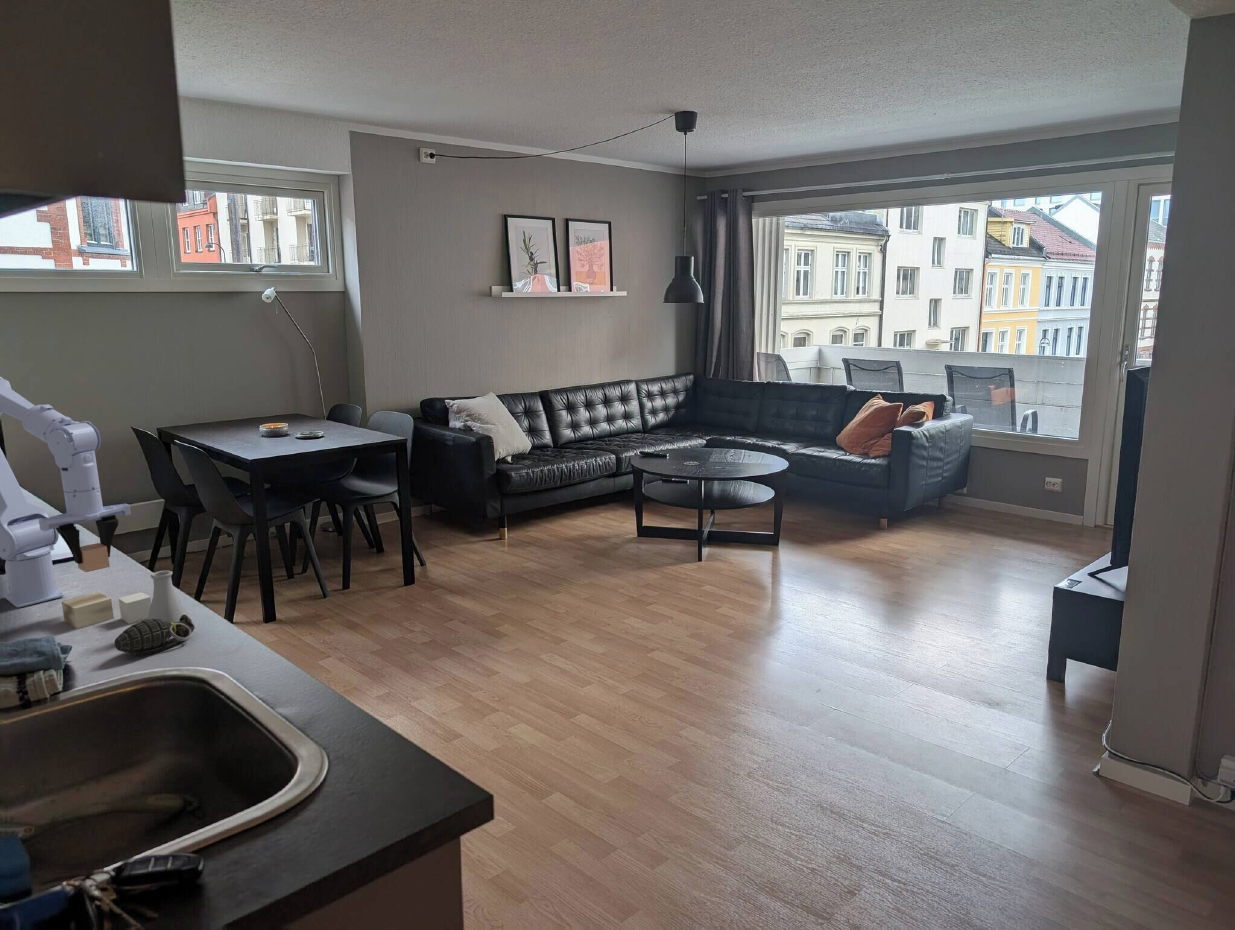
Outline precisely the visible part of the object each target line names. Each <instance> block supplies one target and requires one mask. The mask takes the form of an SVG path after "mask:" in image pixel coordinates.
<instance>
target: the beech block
mask: <svg viewBox="0 0 1235 930" xmlns="http://www.w3.org/2000/svg"><path fill="white" fill-rule="evenodd" d="M61 607H62V612H63V620H64V622H65V623H68V624H69V625H70V626H72V627H74V628H75V629H81V628H85V627H88V626H89V627H90V626H93V625H95V624H100V623H102V622H103V623H104V622H106V621H110V620H114V619H115V615H114V612H113V611H114V610H113V609H114V608H113V602H112V598H111V597H108V596H107V595H104V594H102V593H100V592H99V591H96V592H92V593H88V594H85V595H81V596H76V597H73V598H69V599H66V600H62V601H61Z"/></svg>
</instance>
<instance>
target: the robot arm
mask: <svg viewBox="0 0 1235 930" xmlns="http://www.w3.org/2000/svg"><path fill="white" fill-rule="evenodd" d="M3 413H4V414H6V415H8V416H10V417H13V418H15V419H16V420H19V421H21V422H22V423H21V425H22V428H23V429H24V431H26V432H27V433H29V434H30V435H32V436H34V437H36V438H37V439H39V440H41V441H42V442H44V443H46V444H47V446H48V449H49V451H50V452H51V454H52V455H53V457H54V461H55V465H56V466H57V468H59V469H60V470H59V471H60V477H61V483H62V490H63V497H64V500H65V501H64V503H65V508H66V512H64V513H60V514H57V515H52V516H49V515H48V513H47V512H46V510H45V508H44V507H42V506H39V505H37V504H34V503H32V502H29V501H28V500H27V497H26V496H25V494H24V491H23V490H22V488H21V486H20V483H18V482H19V481H18V480H17V478H16V477H15V476H16V475H15V473H14V472H13V470H12V469H11V466H10V464H9V462H8V460H7V458H6V455H5V454H4V452H3V450H2V449H1V447H0V558H1V560H5V564H4V570H5V576H6V580H7V587H8V593H5V594H3V597H4V599H6V600H7V601H8V602H9V603H11V604H12V605H13V606H15V608H22V607H26V606H29V605H30V606H31V605H35V604H38V603H42V602H47V601H51V600H54V599H60V598H64V597H65V593H64V592H62V591H61V590H59V589H57V585H56V578H55V571H54V570H55V569H54V566H53V559H52V551H54V550H55V548H54V545H56V544H57V543H58V541H59V537H60V536H61V538H62V539H63V541H64V542H65V544H66V545H67V547H68V548H69V551H70V553H71V555H72V557H73V560H74V562H75V563H76V564H77V565H78V564H81V563H83V560H82V554H81V549H80V547H81V541H80V529H78V528H77V526H76V525H79V524H85V523H89V522H91V523H92V522H95V525H96V528H97V532H98V536H99V543H101V544H103V545H105V546H107V552H108V558H110V557H111V551H112V550H111V548H112V544H113V543H112V542H113V539H114V535H115V533H116V530H117V529H118V526H119V519H118V518H117V517H121V516H122V517H123V516H131V515H132V513H131V506H130V504H129V503H128V504H127V503H121V504H113V505H107V506H106V505H105V506H103V499H102V493H101V485H100V480H99V478H100V477H99V472H98V465H97V459H96V452H97V451H98V450H99V449H100V447H101V443H102V441H101V440H102V438H101V435H100V431H99V430H98V428H97V427H96V426H95V425H94V424H92V422H90V421H89V420H87V421H85V420H84V421H80V422H79V421H75V420H73V419H72V418H71V417H69V416H66V415H63V414H62V413H60V412H59V411H58V410H55V409H54V406H52V405H50V404H49V403H47V404H37V405H35V404H33V403H32V402H30V401H29V400H28V399H26V398H25V397H23V396H22V395H20V394H19V393H17V392H16V391H15V390H13V389H12V385H11V384H10V381H9V380H7V379H4V378H3V377H1V376H0V418H1V417H2V415H3Z"/></svg>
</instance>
